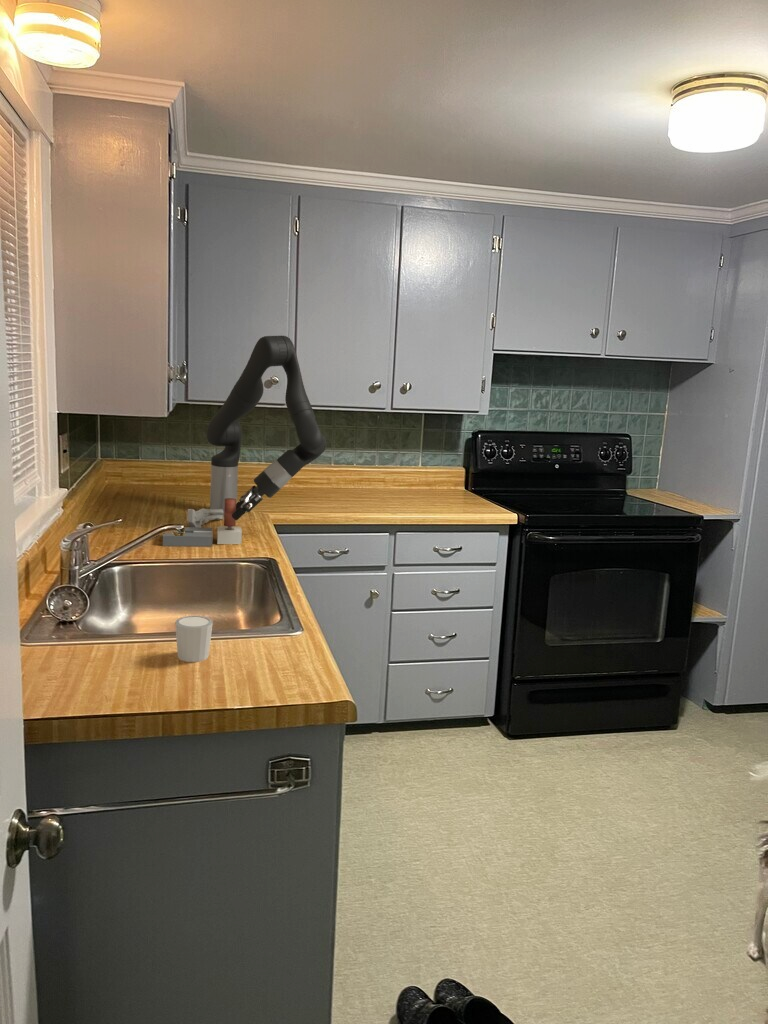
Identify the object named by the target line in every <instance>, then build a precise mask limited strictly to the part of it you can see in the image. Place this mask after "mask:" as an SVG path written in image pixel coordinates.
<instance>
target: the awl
mask: <svg viewBox="0 0 768 1024" xmlns="http://www.w3.org/2000/svg"><path fill="white" fill-rule="evenodd" d="M235 511H236V499H234V498H226V499H225V508H224V516H223V526H226V527H228V528H227V530H232V527H236V523H237V522H236V521H237V520H235V519H234V518H233V517H232V514H233V513H234V512H235Z"/></svg>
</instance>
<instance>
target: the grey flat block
mask: <svg viewBox="0 0 768 1024" xmlns="http://www.w3.org/2000/svg"><path fill="white" fill-rule="evenodd" d="M184 527H185V533H184V535H183V536H175V535H174V534H172V533H165V534H162V546H163V547H193V548H194V547H199V548H200V547H203V548H204V547H205V548H211V546H212V547H213V541H214V540H213V539H214V538H213V533H214V532H213V527H205V526H204V527H203V526H201V527H190V526H184ZM209 546H210V547H209Z"/></svg>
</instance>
